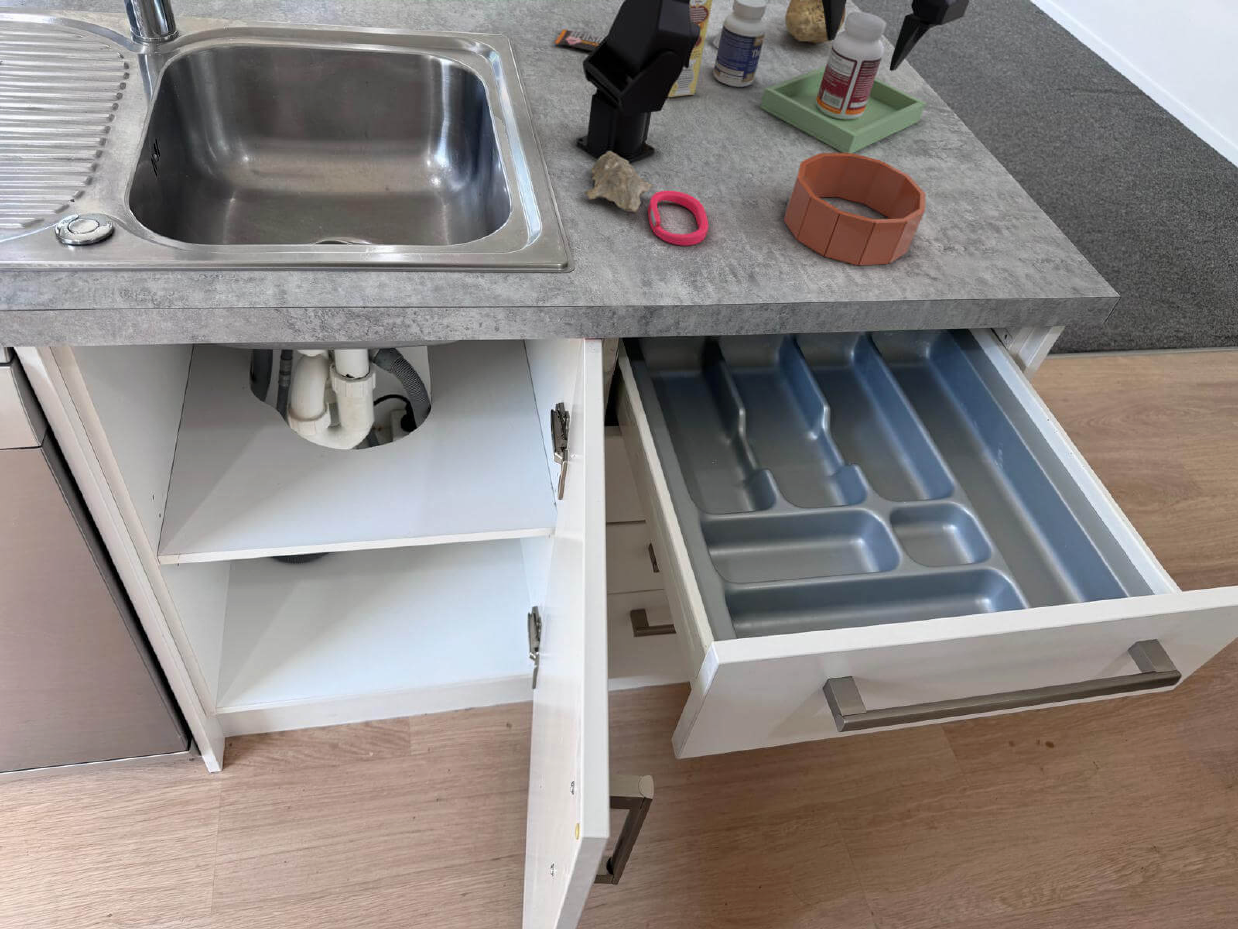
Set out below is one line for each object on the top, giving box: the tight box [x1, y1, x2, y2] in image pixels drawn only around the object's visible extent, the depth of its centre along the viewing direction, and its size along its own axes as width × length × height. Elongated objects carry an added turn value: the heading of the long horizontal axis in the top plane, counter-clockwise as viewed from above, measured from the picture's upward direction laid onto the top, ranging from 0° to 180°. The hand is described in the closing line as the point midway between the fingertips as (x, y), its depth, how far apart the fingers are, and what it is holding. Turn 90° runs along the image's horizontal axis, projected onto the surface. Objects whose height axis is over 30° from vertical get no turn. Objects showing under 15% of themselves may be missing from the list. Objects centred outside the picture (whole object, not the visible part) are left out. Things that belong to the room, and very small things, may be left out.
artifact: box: [585, 151, 654, 213], centre depth 91 cm, size 7×3×10 cm
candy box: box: [667, 0, 713, 98], centre depth 106 cm, size 9×4×15 cm, turn 26°
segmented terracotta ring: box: [783, 152, 927, 266], centre depth 92 cm, size 13×13×5 cm
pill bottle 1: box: [713, 0, 767, 88], centre depth 112 cm, size 5×5×10 cm
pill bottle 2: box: [816, 11, 887, 120], centre depth 108 cm, size 6×6×11 cm
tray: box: [759, 65, 927, 154], centre depth 111 cm, size 17×14×2 cm
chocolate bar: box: [554, 28, 605, 52], centre depth 115 cm, size 11×5×1 cm, turn 78°
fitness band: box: [647, 190, 709, 247], centre depth 89 cm, size 8×6×2 cm
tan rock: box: [784, 0, 846, 45], centre depth 126 cm, size 14×8×8 cm
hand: (861, 54), depth 107 cm, fingers open, 9 cm apart
